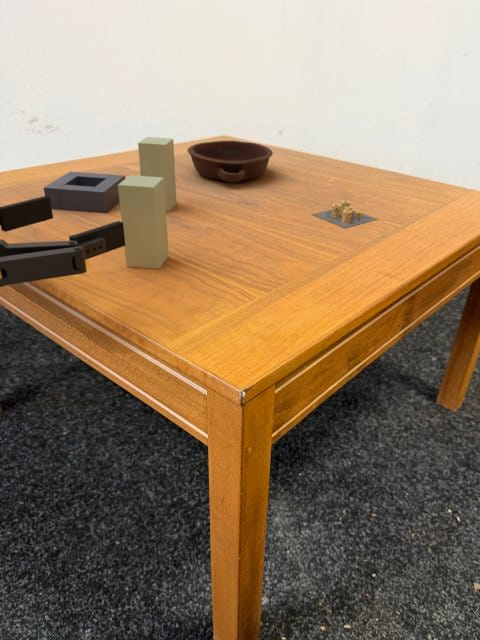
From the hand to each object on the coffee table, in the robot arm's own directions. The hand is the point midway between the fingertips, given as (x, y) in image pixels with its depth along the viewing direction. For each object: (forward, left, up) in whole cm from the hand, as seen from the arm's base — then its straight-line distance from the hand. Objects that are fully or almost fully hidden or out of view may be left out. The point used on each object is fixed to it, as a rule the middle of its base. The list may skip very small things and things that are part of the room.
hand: (84, 219), depth 65 cm
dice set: (+32, +33, -8) cm, 47 cm away
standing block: (0, +31, -8) cm, 32 cm away
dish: (+8, +55, -9) cm, 56 cm away
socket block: (-13, +31, -8) cm, 35 cm away
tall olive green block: (+5, +8, -8) cm, 12 cm away
